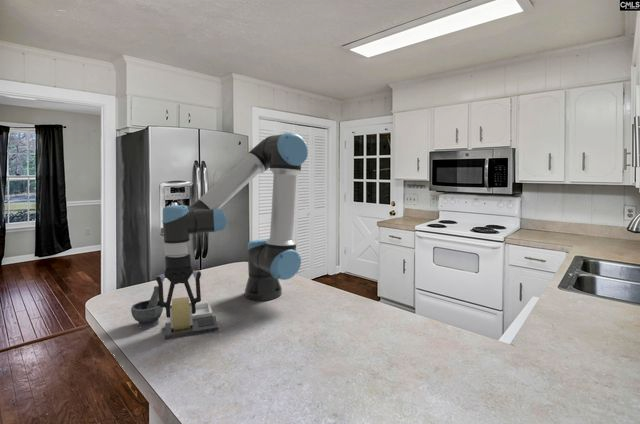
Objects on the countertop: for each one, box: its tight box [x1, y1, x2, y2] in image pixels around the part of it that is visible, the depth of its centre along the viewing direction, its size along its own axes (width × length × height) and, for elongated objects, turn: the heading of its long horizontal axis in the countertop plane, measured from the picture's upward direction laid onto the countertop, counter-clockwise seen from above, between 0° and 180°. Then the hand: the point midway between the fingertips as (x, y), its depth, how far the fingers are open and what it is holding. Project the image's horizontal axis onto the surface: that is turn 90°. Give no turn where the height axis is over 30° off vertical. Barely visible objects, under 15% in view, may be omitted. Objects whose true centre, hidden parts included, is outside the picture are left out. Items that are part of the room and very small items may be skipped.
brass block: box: [171, 296, 191, 332], centre depth 116 cm, size 5×5×10 cm
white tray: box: [192, 301, 213, 319], centre depth 129 cm, size 11×11×2 cm
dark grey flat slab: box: [164, 315, 220, 340], centre depth 118 cm, size 16×10×1 cm, turn 112°
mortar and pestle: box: [130, 285, 164, 329], centre depth 121 cm, size 11×9×12 cm
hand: (181, 324), depth 117 cm, fingers closed on brass block, 5 cm apart
